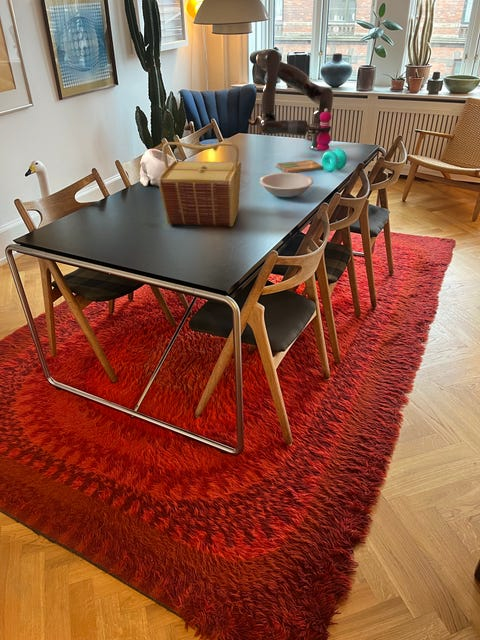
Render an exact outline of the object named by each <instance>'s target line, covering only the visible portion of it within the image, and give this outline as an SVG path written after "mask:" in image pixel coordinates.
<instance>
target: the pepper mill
mask: <svg viewBox="0 0 480 640" xmlns="http://www.w3.org/2000/svg"><path fill="white" fill-rule="evenodd" d="M324 111H325V112H322V113H321V114H320V120H321V122H320V125H321V127H322V128H329V126H331V122H330V121H332V113H331V114H330V113H329V112H327V111H328V109H327V108H326V109H325V110H324ZM331 140H332V139H331V134H330V132H329V133H324V132H322V133H319V135H318V137H317V143H318V144H319V145H317V149H318V150H317V151H328V150H330V143H331Z"/></svg>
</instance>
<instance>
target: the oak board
mask: <svg viewBox="0 0 480 640" xmlns="http://www.w3.org/2000/svg"><path fill="white" fill-rule="evenodd" d="M277 168H278V169H280V170H282V171H283V173H305V172H315V171H320V170H321V171H322V170H324V168H323V166H322V164H320V163H318V162H316V161H315V160H313V159H309V160H308V159H307V160H299V161H286V162H277Z"/></svg>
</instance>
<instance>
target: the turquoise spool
mask: <svg viewBox="0 0 480 640" xmlns="http://www.w3.org/2000/svg"><path fill="white" fill-rule="evenodd" d="M347 163H348V155H347V153H346V151H345V150H344V149H342V148H336V149H334V150H333V151H331V150H329V151H328V150H327V151H325V152H324V153H323V155H322V156H321V166H323V170H325V171H327V172H330V173H331V172H335V171H336V170H341V169H344V168H345V166H346V165H347Z"/></svg>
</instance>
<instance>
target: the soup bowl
mask: <svg viewBox="0 0 480 640" xmlns="http://www.w3.org/2000/svg"><path fill="white" fill-rule="evenodd" d="M314 183H315V182H314V179H313V178H312V177H311V176H309V175H306V174H303V173H299V172H297V173H286V172H275V173H270V174H266V175H264V176H262V177H260V178H259V184H260V185H261V186H263V187H264V189H265V190H266V191H267V192H268V193H269V194H270V195H273V196H275V197H279V198H293V197H297V196H300V195H302V194H304V193H305V192H306V191H307V190H308V188H309V187H311V186H312V185H313V184H314Z"/></svg>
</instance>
